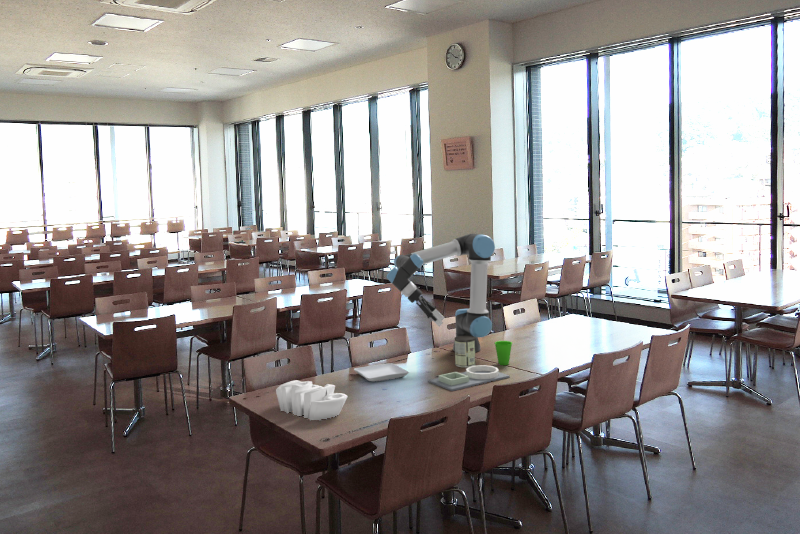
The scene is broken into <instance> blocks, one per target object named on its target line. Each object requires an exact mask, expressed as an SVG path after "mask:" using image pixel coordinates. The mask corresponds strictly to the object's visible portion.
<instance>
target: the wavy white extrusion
mask: <svg viewBox="0 0 800 534" xmlns="http://www.w3.org/2000/svg"><path fill="white" fill-rule="evenodd" d="M335 388H336V385H334V384H329V383H327V384H325V385H324V386H322V385H318V384H313V381H312V380H311V381H309V380H307V381H300V380H297V379H296V380H295V379H294V380H291V381H287V382H284V383H282V384H280V385H279V386H278V387H277V388H276V389H275V393H276V398H277V401H278V406H279V409H280V412H281V411H284V412H286V413H285V414H288V413H289V412H291V413H292V415H293V414H294V415H297V416H302V415H304V416H302V417H304V418H308V419H310V420H309V421H311V420H319V421H322V420H321V419H326V420H328V419H327V418H330V419H332V418H331V417H333V418H336V417H338V416H339V415H340V413H341V411H342V409H343V407H344V405H345V404H346V401H347V399H348V395H347V394H345V393H344V392H343V393H341V392H335ZM292 411H293V412H292ZM289 414H290V413H289ZM294 415H293V416H294ZM337 415H338V416H337ZM297 416H296V417H297ZM335 416H336V417H335ZM304 418H303V419H304ZM308 419H307V420H308Z"/></svg>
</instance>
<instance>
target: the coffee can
mask: <svg viewBox="0 0 800 534" xmlns="http://www.w3.org/2000/svg"><path fill="white" fill-rule="evenodd" d="M454 341H455V351H454V356H455V363H454V365H455V366H456V367H457V368H458V367H459V368H468V367H472V366H476V352H475V337H473V336H457V337H456V336H455V337H454Z"/></svg>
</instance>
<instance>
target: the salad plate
mask: <svg viewBox="0 0 800 534" xmlns="http://www.w3.org/2000/svg"><path fill="white" fill-rule="evenodd" d="M353 371H354V372H355V373H356V374H358V375H359V376H361V377H363V378H365V379H366V381H369V382H373V383H375V381H376V382H381V381H382V382H384V381H389V379H390V380H394V379H395V378H396V379H400V378H402V377H405V376H407V375H408V374H409V373H410V372H409V371H408V370H407V369H404V368H402V367H400V366H399V365H397V364H395V363H394V362H390V363H381V364H373V365H367V366H361V367H355V368H353Z"/></svg>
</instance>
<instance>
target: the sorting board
mask: <svg viewBox="0 0 800 534" xmlns="http://www.w3.org/2000/svg"><path fill="white" fill-rule="evenodd" d="M509 378H510V375H509V374H505V373H503V372H500V370H499V368H498V367H496V366H493V365H485V364H483V365H475V366H472V367H466V368H465V371H463V372H458V371H453V372H449V373H444V374H443V373H442V374H439V375H438V377H435V378H431V379H428V383H430V384H433V385H435V386H437V387H440V388H443V389H444V390H445V389H446V390H447V391H451V392H454V391H457V390H463V389H466V388H471V386H472V387H474V386H475V385H476V386H479V384H480V385H484V384H488V383H487V382H489V383H492V382H491V381H493V382H496V380H497V381H501V380H505V379H509ZM483 383H484V384H483ZM476 386H475V387H476Z"/></svg>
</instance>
